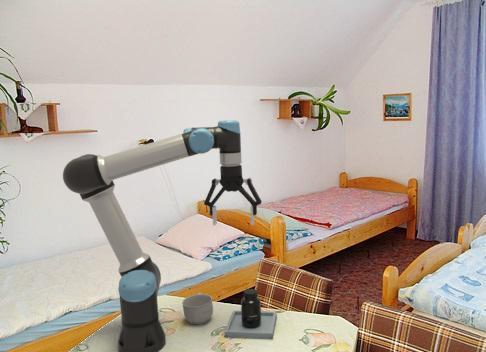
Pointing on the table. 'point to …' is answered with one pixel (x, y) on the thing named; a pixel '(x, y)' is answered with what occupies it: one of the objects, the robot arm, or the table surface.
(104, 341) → the table surface
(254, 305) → the supplement bottle
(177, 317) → the table surface
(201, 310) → the teacup
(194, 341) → the table surface
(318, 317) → the table surface
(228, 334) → the tray
